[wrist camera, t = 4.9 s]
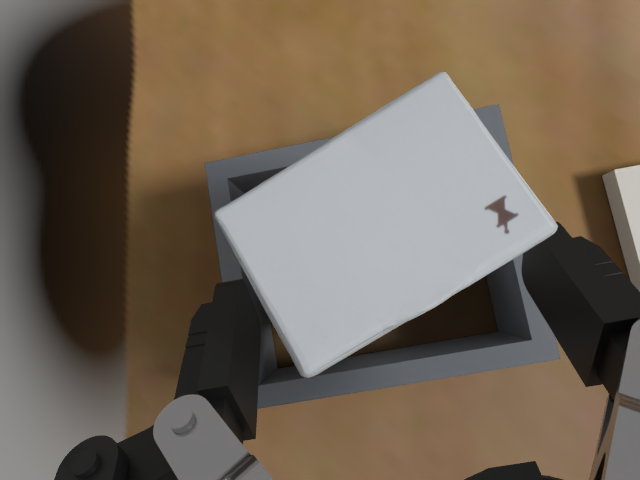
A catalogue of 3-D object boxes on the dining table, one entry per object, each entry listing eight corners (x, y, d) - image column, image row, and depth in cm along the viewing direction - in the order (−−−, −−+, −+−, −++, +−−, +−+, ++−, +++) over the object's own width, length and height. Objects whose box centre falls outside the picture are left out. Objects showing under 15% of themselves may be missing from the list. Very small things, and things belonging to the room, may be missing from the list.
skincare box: (401, 190, 21) (452, 58, 10) (451, 268, 21) (573, 231, 9) (290, 257, 21) (203, 209, 10) (337, 337, 21) (306, 391, 9)
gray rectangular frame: (232, 187, 22) (204, 162, 18) (473, 139, 21) (498, 103, 17) (263, 389, 21) (240, 411, 17) (520, 346, 20) (560, 359, 16)
